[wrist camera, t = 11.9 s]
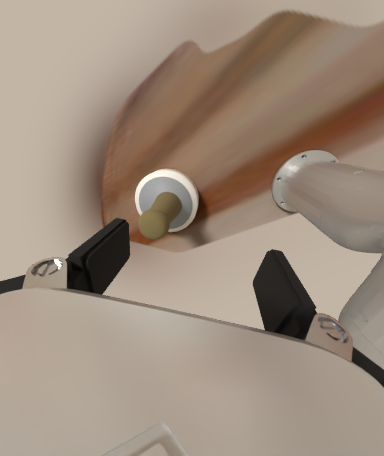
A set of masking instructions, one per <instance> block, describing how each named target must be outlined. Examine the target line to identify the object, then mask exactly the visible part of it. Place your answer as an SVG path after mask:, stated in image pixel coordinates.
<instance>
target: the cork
mask: <svg viewBox="0 0 384 456" xmlns="http://www.w3.org/2000/svg"><path fill="white" fill-rule="evenodd" d="M181 209H182V203H181V201H180V199H179V198H178V196H177V195H175V194H174V193H171V192H163V193H160V194H159V195H158V196H157V198H156V199H155V201H154V203H153V205H152V206H151V208H150V210H147V211H145V212H144V213H143V214H141V216H140V218H139V221H138V226H139V230H140V232H141V233H142V234H143V235H144V236H145V237H147V238H149V239H160V238H162V237H164V236H165V235H166V234H167V232H168V231H169V227H170V223H171V222H172V221H173V220H174V219H175V218H176V217H177V216H178V215H179V213H180V212H181Z"/></svg>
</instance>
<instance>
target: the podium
mask: <svg viewBox="0 0 384 456" xmlns="http://www.w3.org/2000/svg"><path fill="white" fill-rule="evenodd" d="M163 192H171V193H174V194H175V195H177V196H178V198H179V199H180V201H181V203H182V209H181V212H180V213H179V215H178V216H177V217H176V218H175V219H174V220H173V221H172V222H171V223H170V227H169V231H168V232H176V231H179V230H182V229H184V228H186V227H187V226H188V225H189V224H190V223H191V222H192V221H193V219H194V217H195V215H196V212H197V208H198V204H199V194H198V190H197V187H196V185H195V183H194V182H193V181H192V179H191V178H190V177H189V176H188V175H186V174H185V173H183V172H182V171H179V170H177V169H172V168H164V169H160V170H157V171H155V172H153V173H151V174H149V175H147V176H146V177H144V178H143V179H142V180H141V182H140V183H139V185H138V187H137V189H136V193H135V203H136V207H137V210H138V212H139V214H140V216H141V214H143V213H144V212H145V211H147V210H150V208H151V206H152V205H153V203H154V201H155V199H156V198H157V196H158V195H159V194H160V193H163Z"/></svg>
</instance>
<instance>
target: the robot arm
mask: <svg viewBox="0 0 384 456" xmlns="http://www.w3.org/2000/svg"><path fill="white" fill-rule="evenodd" d="M302 155H303V157H302ZM301 157H302V158H301ZM277 178H279V179H278V180H277ZM272 195H273V198H274V200H275V202H276V203H277V204H278V205H279V206H280V207H281V208H283V209H284V210H287V211H290V212H299V213H300V214H302V215H303V216H304V217H305V218H306V219H308V220H309V221H310V222H311V223H312V224H314V225H315V226H316V227H317V228H318V229H320V230H321V231H322V232H323V233H324V234H326V235H327V236H328V237H329V238H331V239H332V240H333V241H334V242H336V243H337V244H339V245H341V246H343V247H345V248H347V249H351V250H354V251H359V252H366V253H382V256H381V258H380V260H379V261H378V263H377V264H376V265H375V267H374V268H373V269H372V271H371V273H370V275H369V276H368V277H367V278H366V279H365V281H364V282H363V283H362V284H361V285H360V287H359V288H358V289H357V290H356V292H355V293H354V294H353V295H352V297H351V298H350V299H349V301H348V302H347V303H346V305H345V306H344V308H343V309H342V311H341V313H340V316H339V321H337V320H336V319H334V318H332V317H331V316H329V315H326V314H322V313H319V314H317V312H316V310H315V308H316V306H315V305H314V303H313V301H312V300H311V298H310V297H309V295H308V293H307V291H306V290H305V288H304V287H303V285H302V283H301V282H300V280H299V278H298V277H297V275H296V274H295V272H294V270H293V269H292V267H291V265H290V264H289V262H288V260H287V259H286V257H285V256H284V254H283V252H281V251H278V250H273V249H272V250H270V251H268V252H267V253H266V255H265V257H264V259H263V261H262V263H261V265H260V267H259V270H258V272H257V274H256V276H255V278H254V280H253V287H254V290H255V294H256V298H257V302H258V305H259V309H260V313H261V317H262V321H263V324H264V328H265V330H261V329H257V328H252V327H248V326H243V325H239V324H235V323H230V322H225V321H221V320H217V319H212V318H207V317H203V316H199V315H194V314H190V313H185V312H180V311H176V310H171V309H167V308H162V307H157V306H153V305H148V304H143V303H138V302H134V301H129V300H125V299H120V298H115V297H110V296H106V295H102V294H103V293H104V291H105V290H106V289H107V287H108V286H109V285H110V283H111V282H112V281H113V279H114V278H115V277H116V275H117V274H118V272H119V271H120V270H121V268H122V267H123V266H124V264H125V263H126V262H127V260H128V259H129V256H130V244H129V243H130V242H129V224H128V222H126V220H124V219H119V218H116V219H114V220H113V221H112V222H110V223H109V224H108V225H107V226H105V227H104V228H103V229H101V230H100V231H99V232H97V233H96V234H95V235H94V236H92V237H91V238H90V239H89V240H87V241H86V242H85V243H83V244H82V245H81V246H79V247H78V248H77V249H75V250H74V251H73V252H72V253H70V254H69V257H68V258H67V259H63V258H59V257H53V258H47V259H43V260H41V261H38V262H36V263H35V264H33V265H32V266H31V267H30V268H29V269H28V270H27V273H26V275H23V276H19V277H16V278H12V279H8V280H4V281H0V456H384V171H381V170H376V169H370V168H364V167H358V166H352V165H347V164H341V163H339V161H338V159H337V158H336V157H335V156H334V155H332V154H330V153H329V152H325V151H320V150H309V151H305V152H301V153H299V154H296V155H295V156H293V157H291V158H290V159H288V160H287V161H286V162H285V163H284V164H283V165H282V166H281V167H280V168H279V170H278V171H277V173H276V174H275V177H274V179H273V183H272ZM281 202H282V203H281Z"/></svg>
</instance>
